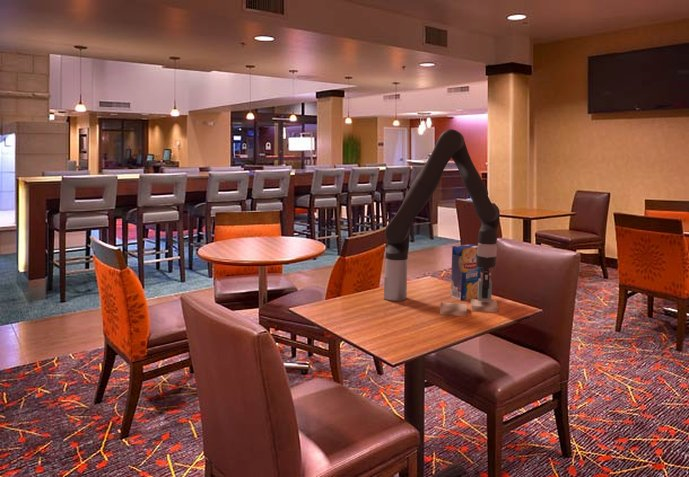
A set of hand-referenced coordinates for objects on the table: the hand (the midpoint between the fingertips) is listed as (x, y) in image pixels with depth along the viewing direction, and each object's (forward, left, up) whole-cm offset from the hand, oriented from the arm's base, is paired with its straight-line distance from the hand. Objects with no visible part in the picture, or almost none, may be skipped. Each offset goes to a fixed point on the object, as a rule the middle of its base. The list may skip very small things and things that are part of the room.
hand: (484, 296), depth 218 cm
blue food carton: (-7, +15, -5) cm, 17 cm away
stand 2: (0, 0, -5) cm, 5 cm away
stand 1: (-12, -8, -5) cm, 15 cm away
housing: (0, 0, -2) cm, 2 cm away
